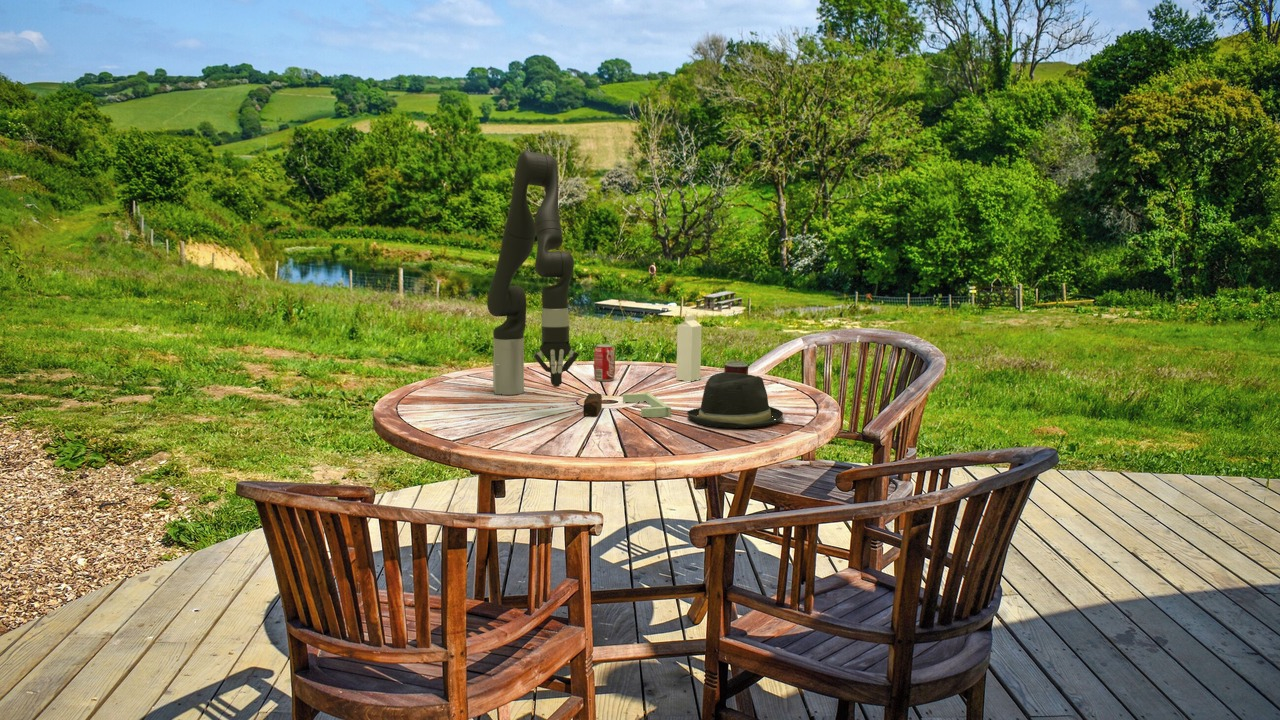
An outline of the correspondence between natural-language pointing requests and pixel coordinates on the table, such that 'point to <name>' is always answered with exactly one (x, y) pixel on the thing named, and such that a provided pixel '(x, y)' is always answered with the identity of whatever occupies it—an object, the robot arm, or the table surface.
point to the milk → (689, 349)
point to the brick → (592, 404)
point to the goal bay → (657, 405)
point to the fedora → (735, 402)
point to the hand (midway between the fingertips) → (556, 386)
